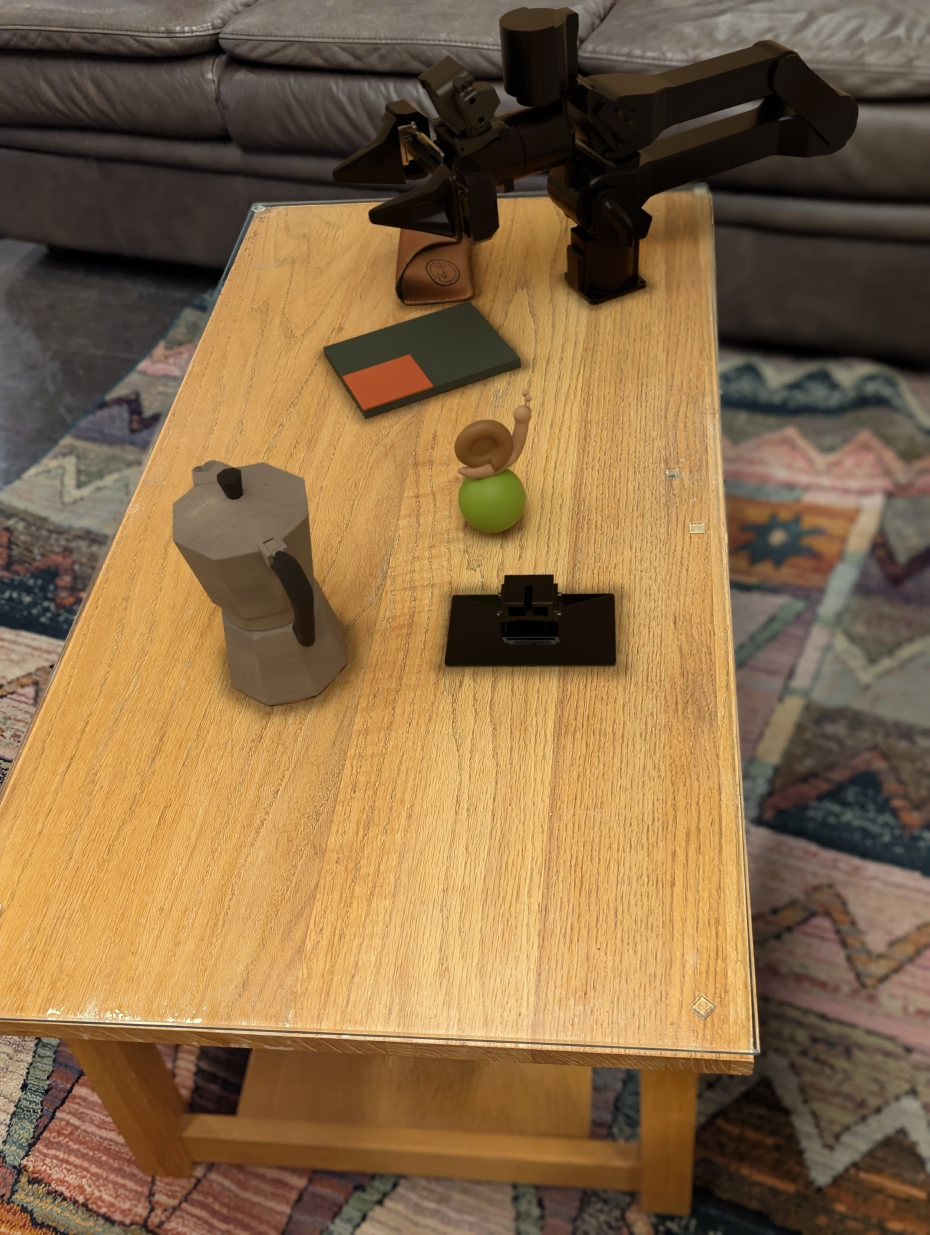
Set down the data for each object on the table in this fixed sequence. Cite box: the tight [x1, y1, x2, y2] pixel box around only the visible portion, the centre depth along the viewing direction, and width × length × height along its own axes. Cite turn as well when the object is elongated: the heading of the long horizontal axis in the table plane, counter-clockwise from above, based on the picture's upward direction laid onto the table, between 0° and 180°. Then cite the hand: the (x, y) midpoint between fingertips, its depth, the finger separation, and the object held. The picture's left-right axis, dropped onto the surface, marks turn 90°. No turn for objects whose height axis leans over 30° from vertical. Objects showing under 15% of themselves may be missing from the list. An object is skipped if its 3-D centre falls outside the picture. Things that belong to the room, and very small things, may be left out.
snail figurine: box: [454, 389, 533, 534], centre depth 84 cm, size 5×6×12 cm
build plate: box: [444, 573, 617, 668], centre depth 79 cm, size 12×7×5 cm, turn 86°
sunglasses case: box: [394, 228, 475, 306], centre depth 117 cm, size 18×7×7 cm
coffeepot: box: [172, 459, 348, 706], centre depth 73 cm, size 15×9×18 cm, turn 33°
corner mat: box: [322, 300, 522, 420], centre depth 105 cm, size 16×12×1 cm
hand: (350, 196), depth 94 cm, fingers open, 9 cm apart
